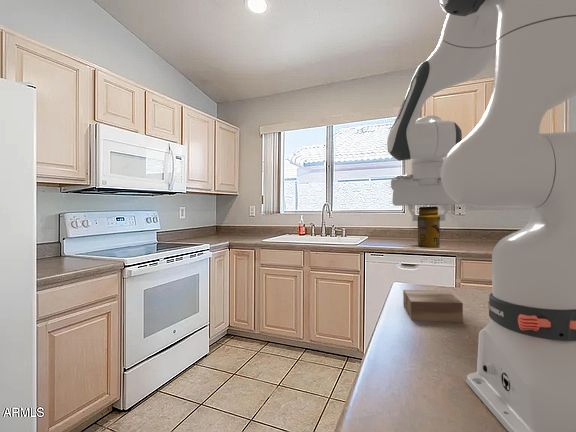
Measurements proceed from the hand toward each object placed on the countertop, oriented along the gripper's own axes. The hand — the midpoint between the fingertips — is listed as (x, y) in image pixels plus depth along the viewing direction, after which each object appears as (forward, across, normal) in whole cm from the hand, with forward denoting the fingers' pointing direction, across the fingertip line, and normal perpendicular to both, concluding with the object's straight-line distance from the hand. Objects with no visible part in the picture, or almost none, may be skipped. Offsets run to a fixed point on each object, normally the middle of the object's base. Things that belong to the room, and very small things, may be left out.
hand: (428, 220), depth 96 cm
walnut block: (+25, -1, -10) cm, 27 cm away
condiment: (+8, -1, 0) cm, 8 cm away
